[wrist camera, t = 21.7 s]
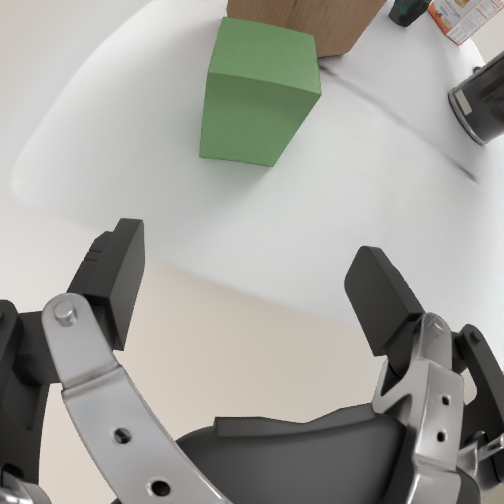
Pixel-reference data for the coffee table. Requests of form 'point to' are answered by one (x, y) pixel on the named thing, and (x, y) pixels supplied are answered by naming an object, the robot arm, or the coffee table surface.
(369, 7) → the wooden block
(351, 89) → the coffee table surface
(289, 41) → the green block
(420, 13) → the ceramic cat
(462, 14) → the cracker box
